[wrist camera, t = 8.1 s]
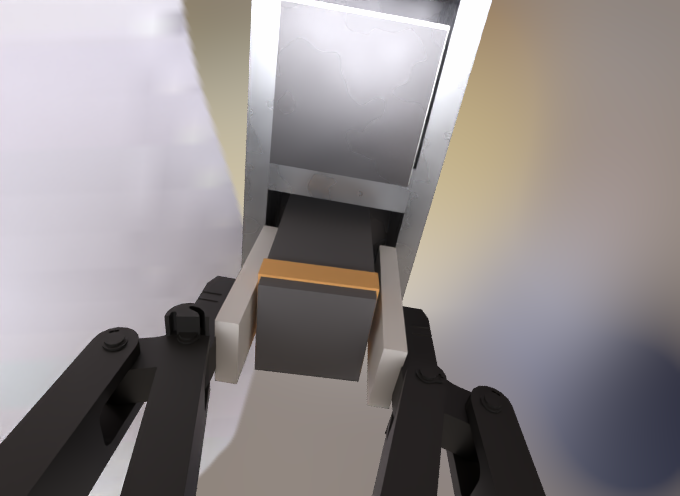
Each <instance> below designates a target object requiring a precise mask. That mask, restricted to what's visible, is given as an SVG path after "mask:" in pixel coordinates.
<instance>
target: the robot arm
mask: <svg viewBox="0 0 680 496" xmlns="http://www.w3.org/2000/svg"><path fill="white" fill-rule="evenodd" d="M277 230H278V228H277V227H271V226H265V225H264V226H263V228H262V230H261V232H260V234H259V236H258V238H257V240H256V242H255V244H254V246H253V248H252V250H251V251H250V253H249V255H248V257H247V259H246V261H245V263H244V265H243V267H242V269H241V271H240V273H239V275H238V276H237V278H236V279H233V278H227V277H221V276H217V277H215V278H214V279H212V280H211V281H209V282H208V283H207V285H206V286H205V288H204V290H203V292H202V293H201V294H200V296H199V298H198V300H197V301H196V303H195V304H194V303H186V304H180V305H177V306H174V307H173V308H171V309H170V310H169V311H168V312H167V313H166V315H165V327H166V335H165V336H161V337H153V338H140V339H139V337H138V334H137V333H136V332H135V331H134V330H132V329H129V328H123V327H117V328H112V329H108V330H106V331H104V332H101V333H100V334H98V335H97V336H96V337H95V338H94V339H93V340H92V341H91V342H90V343H89V344H88V345H87V346H86V348H85V349H84V350H83V351H82V352H81V353H80V354H79V356H78V357H77V358H76V359H75V360H74V361H73V362H72V363H71V365H70V366H69V367H68V368H67V369H66V370H65V371H64V373H63V374H62V375H61V376H60V377H59V378H58V379H57V380H56V382H55V383H54V384H53V385H52V386H51V387H50V388H49V390H48V391H47V392H46V393H45V394H44V395H43V396H42V397H41V399H40V400H39V401H38V402H37V403H36V404H35V405H34V407H33V408H32V409H31V410H30V411H29V412H28V413H27V415H26V416H25V417H24V418H23V419H22V420H21V421H20V422H19V424H18V425H17V426H16V427H15V428H14V429H13V430H12V432H11V433H10V434H9V435H8V436H7V437H6V438H5V439H4V441H3V442H2V443H1V444H0V496H88V495H89V493H90V491H91V490H92V488H93V486H94V485H95V483H96V481H97V480H98V478H99V476H100V475H101V473H102V471H103V470H104V468H105V466H106V465H107V463H108V461H109V460H110V458H111V456H112V455H113V453H114V451H115V450H116V448H117V446H118V445H119V443H120V442H121V440H122V438H123V437H124V435H125V433H126V432H127V430H128V428H129V427H130V425H131V423H132V422H133V420H134V418H135V417H136V415H137V413H138V412H139V410H140V408H141V407H142V405H143V403H144V402H147V404H146V408H145V411H144V415H143V418H142V422H141V425H140V429H139V432H138V436H137V439H136V443H135V446H134V450H133V453H132V457H131V460H130V463H129V467H128V470H127V474H126V477H125V481H124V484H123V488H122V491H121V495H120V496H196V490H197V482H198V476H199V468H200V461H201V454H202V446H203V439H204V432H205V424H206V417H207V409H208V402H209V395H210V380H211V378H212V376H213V374H214V371H215V381H221V382H227V383H233V384H237V382H238V379H239V376H240V374H241V371H242V368H243V366H244V363H245V360H246V357H247V355H248V352H249V349H250V347H251V344H252V341H253V339H254V336H255V333H256V319H257V291H258V273H259V270H260V267H261V264H262V262H263V259H264V258H266V259H267V258H268V255H269V252H270V250H271V247H272V244H273V241H274V238H275V236H276V233H277ZM374 270H375V273H378V278H379V288H380V289H379V294H378V298H377V303H376V307H375V311H374V316H373V320H372V325H371V329H370V333H369V338H368V379H367V381H368V382H367V383H368V384H367V385H368V386H367V405H368V406H374V407H381V408H387V409H389V406H390V404H391V401H392V407H393V412H392V415H391V417H390V420H389V423H388V426H387V430H386V432H385V434H386V438H385V443H384V447H383V451H382V456H381V460H380V465H379V469H378V473H377V477H376V482H375V486H374V490H373V495H372V496H437V489H438V478H439V465H440V455H441V447H442V448H444V449H446V451H447V456H448V462H449V467H450V473H451V478H452V483H453V489H454V494H455V496H546V495H545V492H544V490H543V487H542V484H541V482H540V479H539V477H538V474H537V471H536V468H535V466H534V463H533V460H532V458H531V455H530V452H529V450H528V447H527V445H526V442H525V439H524V436H523V434H522V431H521V428H520V426H519V423H518V420H517V418H516V415H515V412H514V410H513V407H512V405H511V403H510V401H509V400H508V399H507V398H506V397H505V396H504V395H503V394H502V393H501V392H499V391H498V390H496V389H494V388H491V387H488V386H478V387H476V388H474V389H473V390H472V392H470V391H467V390H465V389H463V388H460V387H458V386H456V385H454V384H452V383H451V382H449V381H448V380H447V379H446V375H445V374H444V372H443V370H442V369H440V368H439V367H438V366H437V362H436V356H435V351H434V346H433V341H432V338H431V336H432V335H431V330H430V325H429V320H428V318H427V316H426V315H425V313H424V312H423V311H422V310H421V309H416V308H410V307H404V306H402V297H401V288H400V279H399V270H398V261H397V252H396V248H394V247H388V246H382V245H380V246H379V250H378V254H377V258H376V263H375V267H374Z"/></svg>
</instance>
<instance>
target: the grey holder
mask: <svg viewBox="0 0 680 496" xmlns="http://www.w3.org/2000/svg"><path fill="white" fill-rule="evenodd" d="M491 2H492V0H252V12H251V38H250V63H249V65H250V66H249V89H248V114H247V140H246V166H245V192H244V218H243V243H242V267H243V265H244V263H245V261H246V259H247V257H248V255H249V253H250V251H251V250H252V248H253V246H254V244H255V242H256V240H257V238H258V236H259V234H260V232H261V230H262V228H263V226H264V225H265V226H271V227H277V228H278V227H279V224H280V222H281V219H282V216H283V213H284V210H285V208H286V205H287V202H288V199H289V196H290V194H297V195H303V196H309V197H314V198H320V199H326V200H332V201H337V202H343V203H349V204H355V205H360V206H366V207H369V209H370V221H371V233H372V246H373V258H374V267H375V263H376V258H377V254H378V250H379V246H380V245H382V246H388V247H394V248H396V252H397V261H398V270H399V279H400V288H401V297H402V300H403V296H404V293H405V289H406V286H407V283H408V280H409V276H410V273H411V270H412V266H413V263H414V260H415V256H416V253H417V250H418V246H419V243H420V239H421V236H422V232H423V229H424V226H425V222H426V219H427V216H428V213H429V209H430V206H431V203H432V199H433V196H434V193H435V189H436V186H437V182H438V179H439V176H440V172H441V169H442V166H443V162H444V159H445V156H446V152H447V149H448V146H449V142H450V139H451V136H452V132H453V129H454V125H455V122H456V119H457V115H458V112H459V109H460V105H461V102H462V99H463V95H464V92H465V89H466V85H467V82H468V79H469V75H470V72H471V69H472V65H473V62H474V58H475V55H476V52H477V48H478V45H479V42H480V38H481V35H482V31H483V28H484V24H485V22H486V18H487V15H488V11H489V8H490V5H491Z"/></svg>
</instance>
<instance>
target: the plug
mask: <svg viewBox="0 0 680 496" xmlns="http://www.w3.org/2000/svg"><path fill="white" fill-rule="evenodd" d="M379 289H380V288H379V278H378V273H375V270H374V258H373V246H372V233H371V221H370V209H369V207H366V206H360V205H355V204H349V203H343V202H337V201H332V200H326V199H320V198H314V197H309V196H303V195H297V194H290V196H289V199H288V202H287V205H286V208H285V210H284V213H283V216H282V219H281V222H280V224H279V227H278V230H277V233H276V236H275V238H274V241H273V244H272V247H271V250H270V252H269V255H268V258H267V259H266V258H264V259H263V262H262V264H261V267H260V270H259V273H258V291H257V319H256V346H255V370H264V371H272V372H282V373H290V374H298V375H306V376H316V377H324V378H333V379H342V380H349V381H359V376H360V373H361V368H362V364H363V359H364V355H365V350H366V346H367V342H368V338H369V333H370V329H371V325H372V320H373V316H374V311H375V307H376V303H377V298H378V294H379Z"/></svg>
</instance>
